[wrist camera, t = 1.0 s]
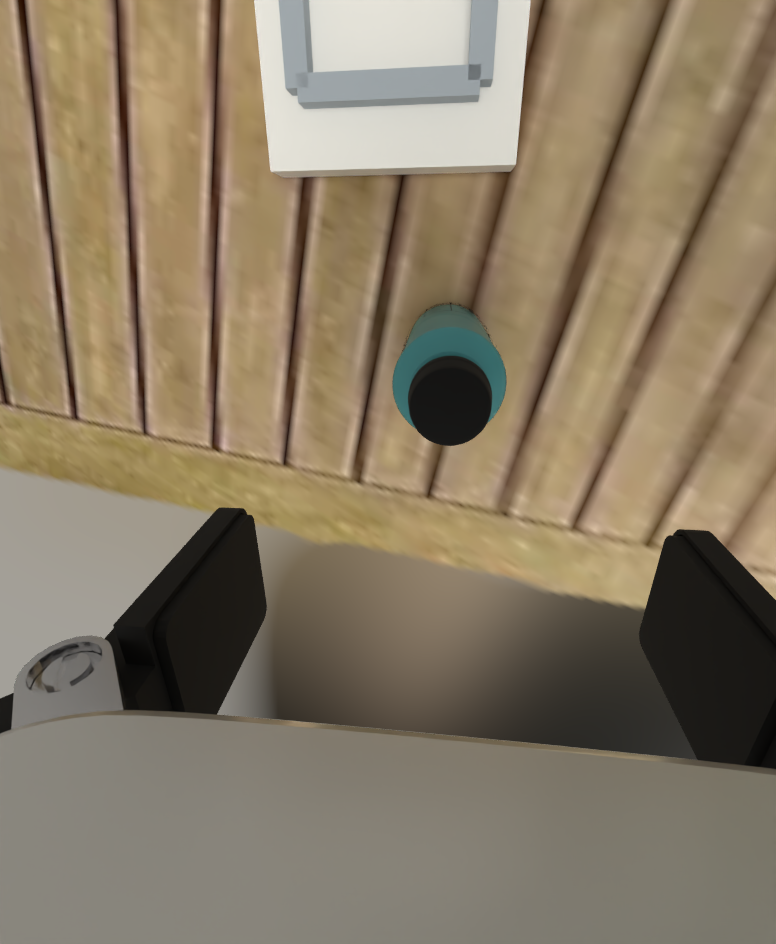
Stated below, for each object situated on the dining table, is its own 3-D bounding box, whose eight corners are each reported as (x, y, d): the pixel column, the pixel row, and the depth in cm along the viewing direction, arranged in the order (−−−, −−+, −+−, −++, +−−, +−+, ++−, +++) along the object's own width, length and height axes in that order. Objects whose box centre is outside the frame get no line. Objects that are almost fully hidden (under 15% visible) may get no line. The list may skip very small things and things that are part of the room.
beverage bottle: (396, 359, 41) (357, 443, 23) (429, 284, 38) (414, 312, 20) (464, 391, 41) (477, 496, 23) (501, 319, 39) (550, 376, 21)
